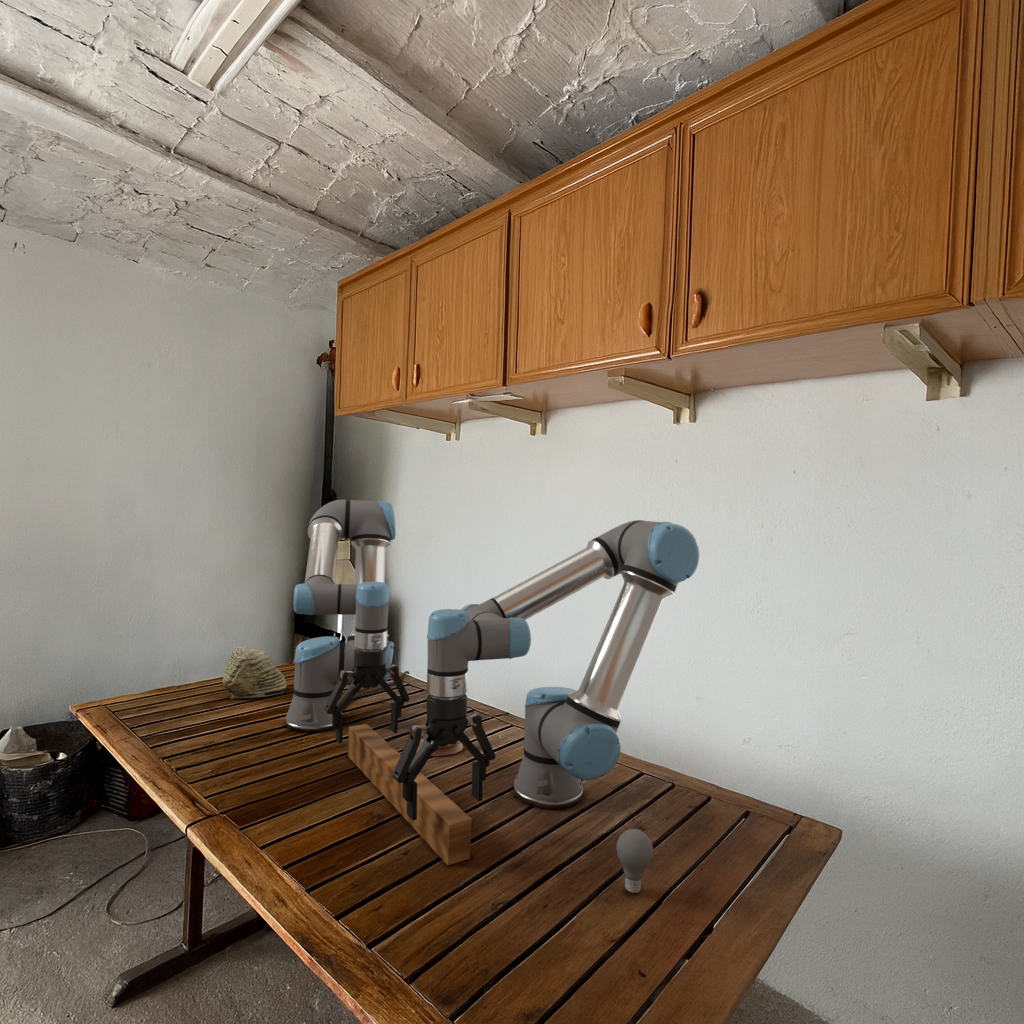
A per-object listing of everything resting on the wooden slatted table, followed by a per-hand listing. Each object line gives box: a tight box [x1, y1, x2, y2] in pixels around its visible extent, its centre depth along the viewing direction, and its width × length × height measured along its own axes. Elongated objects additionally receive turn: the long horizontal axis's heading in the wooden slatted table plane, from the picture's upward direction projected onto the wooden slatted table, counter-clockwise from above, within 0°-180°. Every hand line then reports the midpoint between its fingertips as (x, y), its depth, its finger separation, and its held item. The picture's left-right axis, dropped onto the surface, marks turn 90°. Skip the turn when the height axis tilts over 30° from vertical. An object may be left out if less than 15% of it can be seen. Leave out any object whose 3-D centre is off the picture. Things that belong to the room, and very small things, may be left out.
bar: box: [347, 723, 473, 866], centre depth 134 cm, size 53×4×7 cm, turn 33°
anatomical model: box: [416, 738, 464, 757], centre depth 162 cm, size 13×4×12 cm
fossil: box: [222, 646, 288, 699], centre depth 198 cm, size 9×18×15 cm, turn 132°
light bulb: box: [615, 828, 654, 894], centre depth 106 cm, size 6×6×10 cm
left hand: (366, 736), depth 151 cm, fingers open, 13 cm apart
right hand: (445, 807), depth 118 cm, fingers open, 13 cm apart
